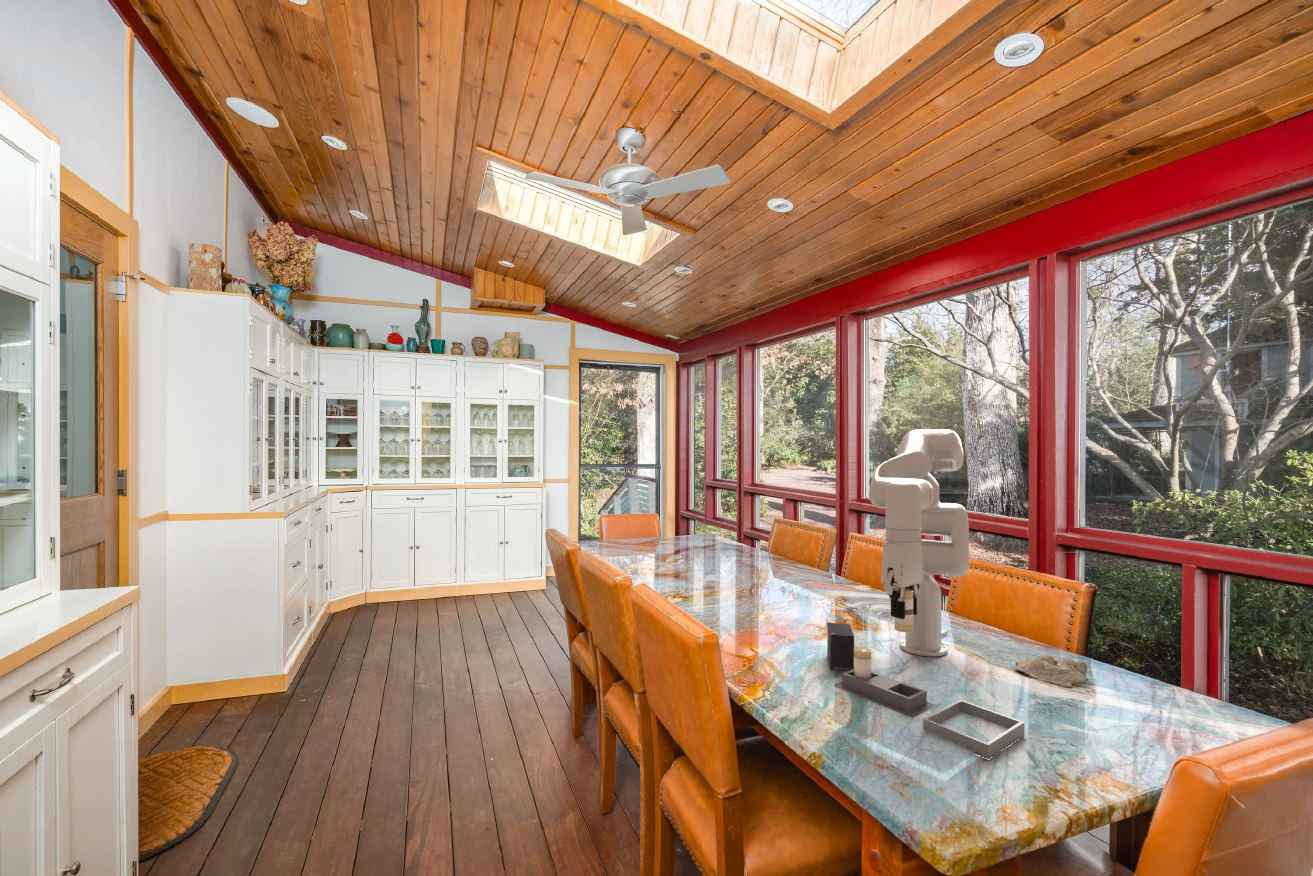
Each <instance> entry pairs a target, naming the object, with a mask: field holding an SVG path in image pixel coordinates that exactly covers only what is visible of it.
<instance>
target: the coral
mask: <svg viewBox="0 0 1313 876" xmlns="http://www.w3.org/2000/svg"><path fill="white" fill-rule="evenodd" d="M1058 662H1059V661H1058V660H1056V659H1055V658H1054V656H1053V655H1051V654H1048V653H1045V654H1043V655H1040V656H1036V657H1031V658H1025V659H1022V660H1018V661H1016V662H1015V665H1016V666H1012V668H1013V669H1014V670H1016V671H1020V672H1021V673H1023V674H1025V675H1027V676H1029V677H1030V678H1034V679H1037V680H1038V681H1040V682H1044V683H1048V684H1052V685H1057V686H1058V687H1062V688H1073V685H1072V684H1085V683H1087V682H1088V681H1089V678H1088V677H1087V676H1086V674H1087V671H1088V666H1087V663H1086V662H1085V661H1082V660H1081V659H1079V660H1078V661H1074V660H1073V659H1071V658H1067V657H1064V658H1063V659H1062V661H1061V665H1058Z"/></svg>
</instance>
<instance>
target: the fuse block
mask: <svg viewBox="0 0 1313 876" xmlns="http://www.w3.org/2000/svg"><path fill="white" fill-rule="evenodd" d="M841 677H842V678H841V681H839V682H837V683H835V684H832V686H833V687H836V688H838V689H841V690H843V691H846V692H847V693H850V694H853V695H855V696H858V697H860V698H863V699H865V700H867V701H870V702H873V703H875V704H877V705H880V706H882V707H885V708H888V709H890V710H891V711H895V712H897V713H900V714H902V715H905V716H907V717H909V718H911V719H913V718H915V717H918V716H919V715H922V714H923V713H925V712H928V711H929V710H931V709H933V708H935V707H937V706H938V704H936V703H932V702H929V701H927V699H928V697H927V694H928V693H927V691H926V690H924V689H921V688H919V687H916V686H913V685H911V684H908V683H905V682H902V681H899V680H897V679H894V678H891V677H889V676H885V675H882V674H879V673H877V672H874V671H872V670H871V679H869V680H866V681H865V680H862V679H859V678H857V677H854V669H853V670H850V671H847V672H846V671H844V672H843V673H841Z"/></svg>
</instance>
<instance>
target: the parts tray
mask: <svg viewBox="0 0 1313 876" xmlns="http://www.w3.org/2000/svg"><path fill="white" fill-rule="evenodd" d="M961 711H963V712H965V713H968V714H971V715H973V716H976V717H979V718H982V719H984V720H987V721H989V722H992V723H995V724H998V725H1000V726H1003V727H1005V728H1008V729H1006V730H1005V731H1003V732H1002V733H1000V734H999V735H997V736H995V737H994V738H992V739H991V740H989V741H987V742H985V741H983V740H981V739H978V738H976V737H973V736H970V735H969V734H965V733H963V732H961V731H958V730H955V729H953V728H950V727H948V726H946V725H943V724H940V723H941V722H943V721H944V720H945V721H946V719H949V718H950V717H952V716H954V715H956V714H958V713H959V712H961ZM922 729H923V730H925V731H928V732H930V733H933V734H935V735H938V736H939V737H942V738H944V739H947V740H949V741H952V742H954V743H955V744H958V745H961V746H963V747H966V748H969V749H971V750H973V751H975V752H974V753H975V754H977V755H980V756H981V757H984V758H987V759H990V758H991V757H993V756H995V755H996V754H998V753H1000V752H1001V750H1003V749H1005V748H1006V747H1008V746H1009V745H1011V744H1012V743H1014V742H1015V741H1017V740H1018V739H1020V738H1021V737H1023V736H1024V737H1025V721H1022V720H1019V719H1017V718H1014V717H1011V716H1008V715H1006V714H1002V713H1000V712H997V711H994V710H992V709H989V708H985V707H983V706H980V705H978V704H974V703H971V702H969V701H966V700H963V699H958V700H957V701H955V702H953V703H951V704H949V705H947V706H945V707H943V708H941V709H939V710H937V711H936V712H933V713H931V714H930V715H927V716H926V717H924V718H922ZM1024 737H1023V738H1024ZM1020 740H1021V739H1020ZM1017 742H1018V741H1017ZM1014 744H1015V743H1014ZM1011 746H1012V745H1011ZM1008 748H1009V747H1008ZM1005 750H1006V749H1005ZM1001 753H1002V752H1001ZM1001 753H1000V754H1001ZM998 755H999V754H998ZM981 757H980V758H981ZM995 757H996V756H995Z"/></svg>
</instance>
